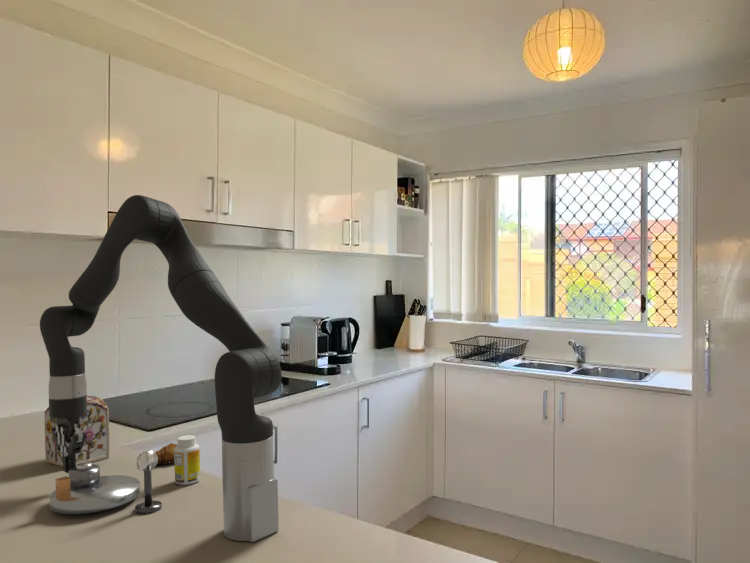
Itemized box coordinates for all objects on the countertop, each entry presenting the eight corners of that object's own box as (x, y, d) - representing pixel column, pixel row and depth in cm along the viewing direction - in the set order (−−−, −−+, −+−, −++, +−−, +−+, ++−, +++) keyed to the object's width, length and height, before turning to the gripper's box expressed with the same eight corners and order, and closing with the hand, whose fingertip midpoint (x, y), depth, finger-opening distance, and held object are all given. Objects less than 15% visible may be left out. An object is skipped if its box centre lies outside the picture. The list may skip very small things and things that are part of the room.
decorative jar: (88, 451, 158) (87, 386, 158) (111, 457, 151) (110, 390, 152) (43, 462, 148) (42, 393, 149) (65, 470, 142) (64, 398, 142)
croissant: (194, 454, 153) (194, 436, 153) (201, 460, 147) (201, 441, 147) (141, 464, 146) (140, 444, 146) (146, 471, 140) (145, 450, 140)
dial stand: (166, 508, 116) (165, 450, 116) (143, 516, 112) (141, 456, 112) (153, 502, 119) (152, 446, 119) (130, 510, 115) (129, 451, 115)
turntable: (155, 494, 120) (154, 467, 120) (70, 521, 107) (70, 490, 107) (117, 478, 131) (116, 453, 131) (36, 500, 118) (35, 473, 118)
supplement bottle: (202, 476, 134) (201, 433, 134) (197, 485, 129) (196, 440, 129) (178, 478, 134) (177, 434, 134) (172, 486, 128) (171, 441, 128)
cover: (105, 482, 123) (104, 463, 123) (76, 490, 119) (75, 470, 119) (92, 477, 127) (92, 458, 127) (64, 484, 122) (63, 465, 122)
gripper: (98, 394, 126) (99, 472, 126) (72, 388, 135) (74, 461, 135) (62, 400, 120) (64, 482, 120) (38, 394, 129) (39, 470, 129)
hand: (69, 471), depth 128 cm, fingers closed
